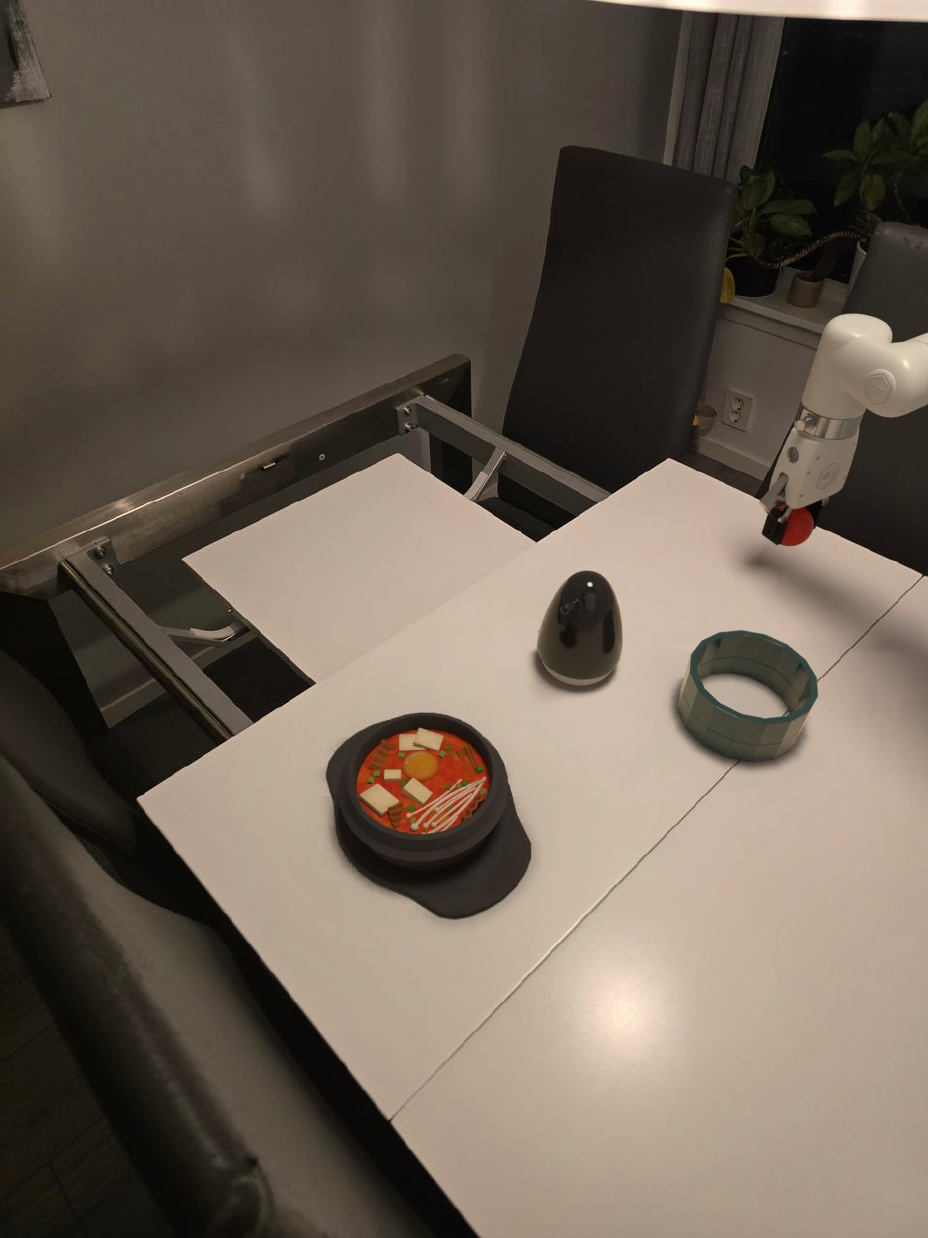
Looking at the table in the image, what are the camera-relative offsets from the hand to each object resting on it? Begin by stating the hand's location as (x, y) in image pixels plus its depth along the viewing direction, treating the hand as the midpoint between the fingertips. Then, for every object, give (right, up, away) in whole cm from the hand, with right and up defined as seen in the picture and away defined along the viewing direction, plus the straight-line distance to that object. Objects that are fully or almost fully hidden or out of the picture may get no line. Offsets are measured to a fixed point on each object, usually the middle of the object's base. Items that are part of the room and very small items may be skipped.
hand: (788, 531), depth 111 cm
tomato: (0, +1, -1) cm, 1 cm away
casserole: (-50, -34, -28) cm, 67 cm away
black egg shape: (-32, -19, -13) cm, 40 cm away
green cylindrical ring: (-14, -24, -19) cm, 34 cm away
